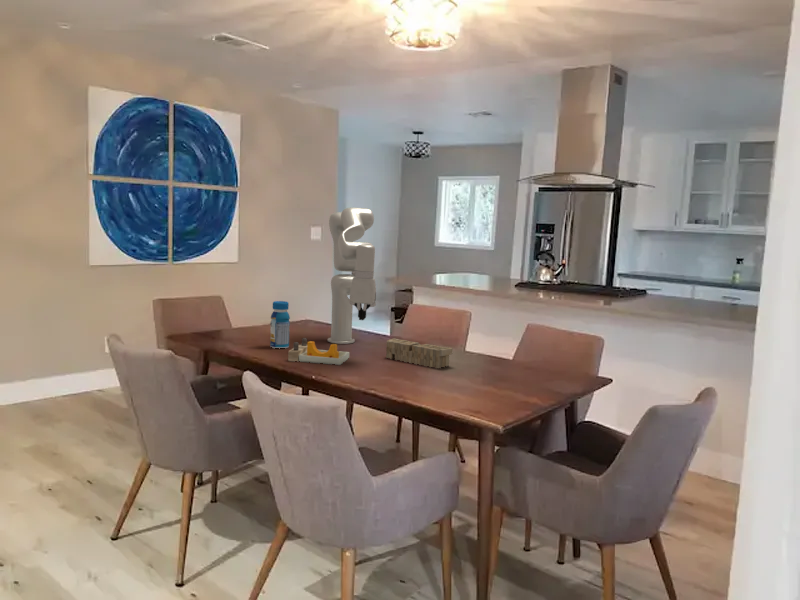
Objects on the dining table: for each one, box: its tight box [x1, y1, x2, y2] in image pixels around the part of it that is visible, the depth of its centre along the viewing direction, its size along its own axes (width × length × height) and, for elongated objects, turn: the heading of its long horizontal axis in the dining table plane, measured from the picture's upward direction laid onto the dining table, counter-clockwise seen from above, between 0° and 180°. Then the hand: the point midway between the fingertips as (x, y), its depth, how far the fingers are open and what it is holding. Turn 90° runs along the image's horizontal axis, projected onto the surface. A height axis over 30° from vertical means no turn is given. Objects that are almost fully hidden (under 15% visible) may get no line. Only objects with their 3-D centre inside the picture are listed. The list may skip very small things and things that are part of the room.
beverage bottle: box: [269, 300, 291, 350], centre depth 277 cm, size 8×8×20 cm
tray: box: [298, 349, 350, 366], centre depth 258 cm, size 14×17×2 cm
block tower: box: [385, 338, 453, 369], centre depth 262 cm, size 8×8×29 cm
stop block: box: [287, 337, 308, 362], centre depth 260 cm, size 16×4×7 cm, turn 169°
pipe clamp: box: [307, 340, 339, 358], centre depth 257 cm, size 12×4×6 cm, turn 72°
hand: (361, 319), depth 260 cm, fingers closed
